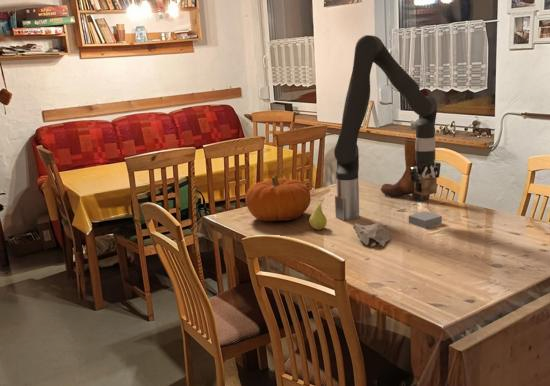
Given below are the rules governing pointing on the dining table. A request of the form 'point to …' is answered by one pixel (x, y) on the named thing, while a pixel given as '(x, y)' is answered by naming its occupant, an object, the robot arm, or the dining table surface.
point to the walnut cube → (427, 186)
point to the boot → (405, 178)
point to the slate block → (425, 219)
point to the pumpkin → (278, 199)
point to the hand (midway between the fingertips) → (425, 190)
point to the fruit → (318, 218)
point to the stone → (372, 233)
